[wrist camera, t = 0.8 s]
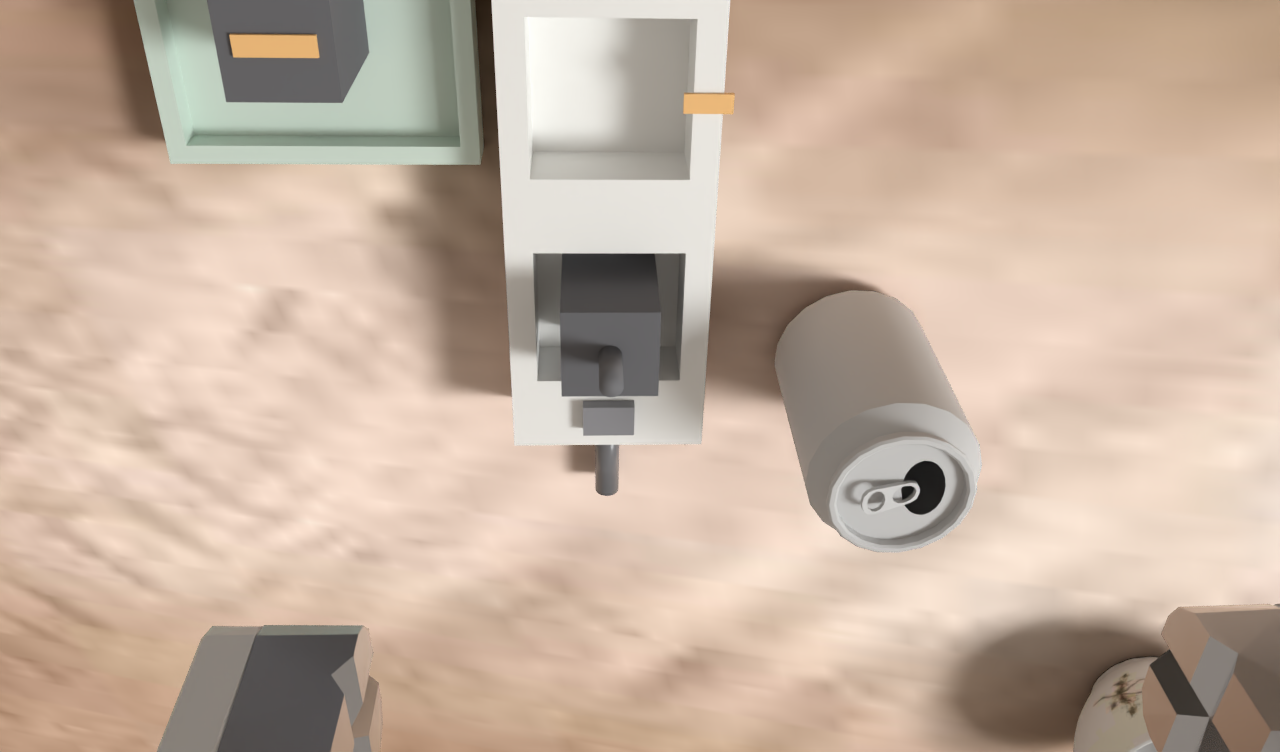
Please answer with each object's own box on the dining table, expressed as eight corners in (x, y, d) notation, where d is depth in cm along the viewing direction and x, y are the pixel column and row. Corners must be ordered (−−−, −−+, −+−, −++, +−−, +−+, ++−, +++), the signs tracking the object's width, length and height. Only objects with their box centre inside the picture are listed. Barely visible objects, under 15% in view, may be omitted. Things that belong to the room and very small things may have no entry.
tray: (113, -187, 41) (92, -180, 39) (464, -180, 42) (459, -173, 40) (185, 145, 48) (170, 163, 46) (484, 146, 49) (480, 164, 47)
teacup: (1081, 773, 75) (1129, 883, 69) (1006, 673, 69) (1050, 782, 63) (1299, 682, 71) (1373, 790, 64) (1240, 568, 65) (1314, 673, 58)
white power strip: (494, -109, 43) (485, -84, 39) (734, -105, 43) (748, -81, 40) (522, 474, 59) (518, 532, 55) (697, 473, 59) (705, 530, 56)
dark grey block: (248, -56, 43) (202, -16, 38) (357, -55, 43) (326, -14, 38) (265, 51, 45) (225, 103, 40) (369, 52, 45) (341, 104, 40)
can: (917, 399, 57) (987, 558, 47) (774, 414, 58) (813, 576, 48) (923, 273, 53) (1001, 418, 43) (769, 289, 53) (811, 437, 43)
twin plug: (562, 246, 50) (558, 343, 44) (653, 246, 51) (664, 342, 44) (564, 325, 53) (560, 429, 46) (651, 325, 53) (661, 428, 46)
